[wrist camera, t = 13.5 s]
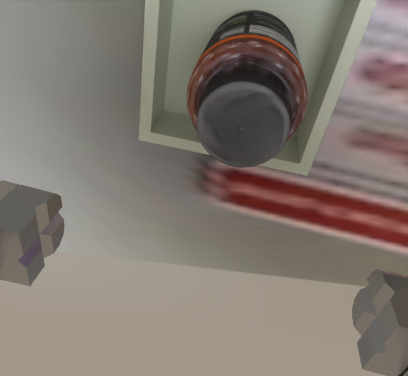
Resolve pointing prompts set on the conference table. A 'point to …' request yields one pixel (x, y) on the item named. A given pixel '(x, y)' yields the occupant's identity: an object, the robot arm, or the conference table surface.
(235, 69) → the supplement bottle
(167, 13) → the tray
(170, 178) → the conference table surface
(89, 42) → the conference table surface
